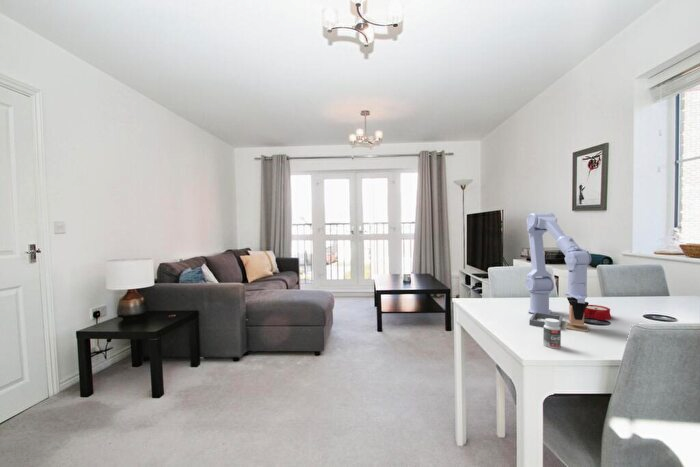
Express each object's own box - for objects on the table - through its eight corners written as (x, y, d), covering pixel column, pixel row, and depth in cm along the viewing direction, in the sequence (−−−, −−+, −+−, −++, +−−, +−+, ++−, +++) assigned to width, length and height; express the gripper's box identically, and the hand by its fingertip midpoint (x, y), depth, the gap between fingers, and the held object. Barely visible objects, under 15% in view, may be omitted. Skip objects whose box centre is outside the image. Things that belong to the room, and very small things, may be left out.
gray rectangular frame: (534, 316, 136) (534, 312, 136) (562, 320, 130) (562, 315, 130) (529, 324, 126) (529, 319, 125) (560, 329, 120) (560, 324, 120)
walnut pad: (567, 323, 128) (567, 322, 128) (587, 325, 124) (587, 324, 124) (566, 329, 120) (566, 327, 120) (587, 332, 117) (587, 331, 117)
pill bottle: (552, 349, 101) (552, 322, 101) (539, 343, 106) (540, 318, 105) (564, 347, 102) (564, 321, 102) (551, 342, 107) (552, 317, 107)
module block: (569, 320, 125) (569, 305, 125) (581, 321, 123) (581, 306, 123) (571, 323, 121) (571, 307, 121) (584, 324, 119) (584, 308, 119)
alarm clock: (614, 308, 137) (607, 305, 127) (614, 323, 136) (606, 322, 126) (585, 303, 145) (575, 301, 135) (584, 317, 144) (574, 316, 134)
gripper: (561, 278, 130) (561, 312, 130) (568, 284, 117) (568, 321, 117) (582, 279, 127) (582, 314, 127) (592, 286, 114) (591, 324, 114)
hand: (577, 318), depth 122 cm, fingers closed on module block, 4 cm apart
